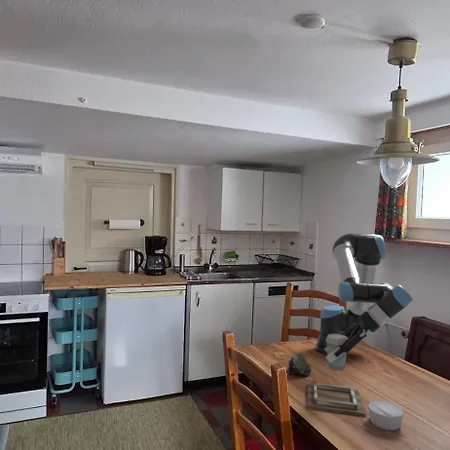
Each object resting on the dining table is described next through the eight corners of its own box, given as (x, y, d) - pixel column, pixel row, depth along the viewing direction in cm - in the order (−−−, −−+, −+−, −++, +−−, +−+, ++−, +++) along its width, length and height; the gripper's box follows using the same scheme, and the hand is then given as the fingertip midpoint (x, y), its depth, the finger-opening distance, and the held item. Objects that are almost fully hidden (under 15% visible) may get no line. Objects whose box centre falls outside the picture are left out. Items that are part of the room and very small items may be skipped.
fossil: (311, 378, 169) (301, 356, 169) (291, 385, 171) (281, 363, 172) (312, 368, 179) (302, 347, 180) (294, 375, 181) (284, 354, 182)
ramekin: (364, 425, 133) (364, 409, 133) (372, 412, 142) (372, 397, 142) (399, 436, 127) (400, 420, 127) (405, 422, 136) (406, 407, 136)
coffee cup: (324, 370, 147) (326, 338, 147) (324, 362, 155) (325, 332, 155) (348, 373, 145) (350, 341, 145) (347, 365, 153) (348, 334, 153)
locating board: (307, 385, 162) (307, 379, 162) (358, 392, 158) (358, 385, 158) (307, 408, 143) (307, 401, 143) (365, 416, 139) (365, 409, 139)
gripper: (386, 334, 136) (336, 374, 140) (376, 318, 157) (332, 354, 161) (371, 317, 137) (321, 357, 141) (362, 304, 158) (319, 339, 162)
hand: (327, 355), depth 151 cm, fingers closed on coffee cup, 8 cm apart
